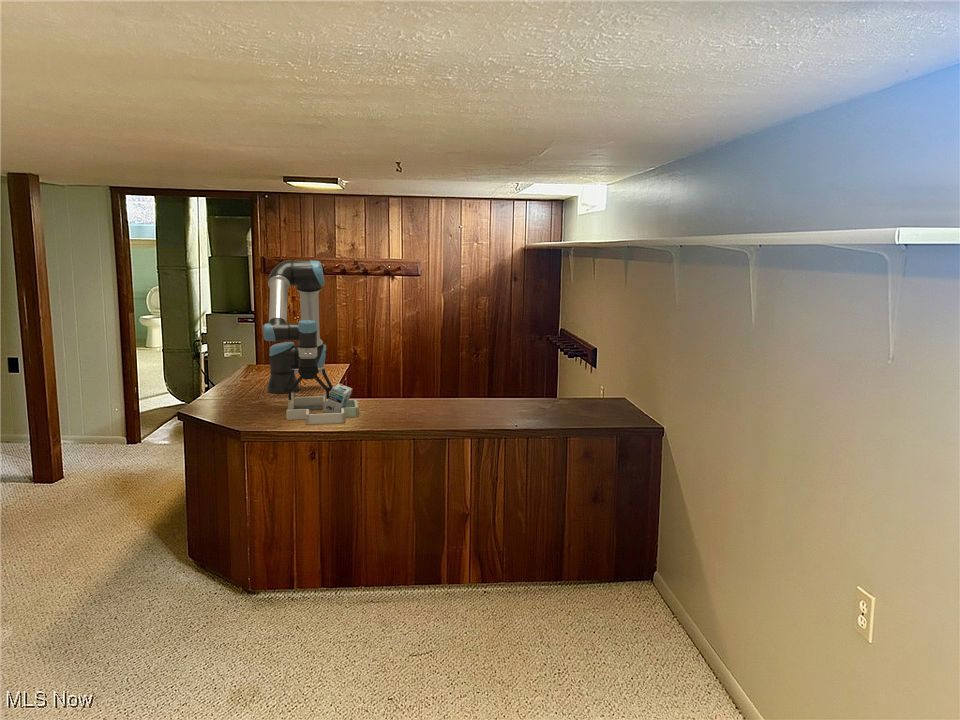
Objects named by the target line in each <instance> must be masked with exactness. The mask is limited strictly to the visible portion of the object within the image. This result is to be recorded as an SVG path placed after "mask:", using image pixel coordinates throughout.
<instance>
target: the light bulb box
mask: <svg viewBox="0 0 960 720" xmlns="http://www.w3.org/2000/svg"><path fill="white" fill-rule="evenodd" d="M352 393H353V388H352V387H349V386H346V385H344V384H342V383H337V384H335V385H334V386H333V388H332V390H331V391H330V392H329V398H328V399H327V400H328V401H327V404H326V407H325V410H324V409H323V411H324V412H326V413H341V408H346V406H347V404H348V401H349V400H350V398H351V395H352Z"/></svg>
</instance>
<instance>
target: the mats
mask: <svg viewBox="0 0 960 720" xmlns="http://www.w3.org/2000/svg"><path fill="white" fill-rule="evenodd" d="M297 409H309V411H312V410H313V411H318V410H319V411H321V410H324V405H307V406H295V407H294V408H293V410H297Z"/></svg>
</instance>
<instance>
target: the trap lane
mask: <svg viewBox="0 0 960 720" xmlns="http://www.w3.org/2000/svg"><path fill="white" fill-rule="evenodd" d="M293 400H294V406H307V405H323V411H324V410H325V395H321V396H319V395H318V396H317V395H315V396H293ZM327 401H328V399H326V402H327ZM285 414H286V420H287V421H295V420H296V421H297V420H306V421H305V422H306V425H324V424H326V425H327V424H328V425H329V424H330V425H331V424H345V422H346V421H345V419H346V418H358V417H359V406H358V402H357V398H356V399H354V398H353V399H349V401H348V404H347V406H346V408H341V413H328V412H326V413H310V410H309V409H297V410H294V408H292V406H291V400H289V401H288V402H287V409H286V413H285Z"/></svg>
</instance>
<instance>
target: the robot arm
mask: <svg viewBox="0 0 960 720" xmlns="http://www.w3.org/2000/svg"><path fill="white" fill-rule="evenodd" d="M325 284H326V283H325V275H324V270H323V266H322V262H321V261H320V260H312V259H307V260H301V259H299V260H298V259H297V260H291V259H287V260H284V261H280V262H279V263H278V264H277V265H275V266H274V267H273V269H271V271H270V273H269V275H268V279H267V285H268V288H269V305H268V306H269V307H268V308H269V309H268V323H264V324H263V326H262V333H263V334H262V335H263V340H264V341H266V342H279V343H274V344H273V345H271V346H270V347H269V355H268V356H269V373H270V375H269V379H268V383H267V384H266V385H267V386H266V390H267V391H266V392H268V393H272V394H288V395H287V396H288V397H287V398H288V401H291V406H292V408H293V409H294V408H295V407H294V400H293V397H294V393H295V392H298V391H299V390H300V383H301V381H302V380H310V381H312V380H315V381H316V382H317V383H318V384H319V385H320V386H321V387H322V389H324V396H325V407H326V404H327V402H326V400H328V398H329V396H330V392H331V390H332V388H333V387H334V386H333V384H332V382H331V381H330V379H329V377H328V375H327V373H326V368H325V367H324V366H325V364H326V363H325V362H326V352H327V345H326V344H324V341H323V340H322V339H321V337H320V335H321V334H320V302H319V301H320V299H319V297H320V296H319V295H320V294H319V293H320V292H321V290H322V287H324V286H325ZM290 286H291V287H294V286H295V289H296V290H297V292H298V293H299V303H300V304H299V305H300V306H299V307H300V308H299V309H300V320H299V321H298V322H293V323H292V322H291V323H289V322H288V290H289V289H290ZM284 341H285V342H284ZM294 342H298V344H295V343H294ZM319 373H320V374H321V375H322V376H323V378H324V380H325V382H326V384H325V382H323V381H322V379H321V378H319V376H318V374H319ZM297 374H299V376H298V378H297V376H296V375H297Z"/></svg>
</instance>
